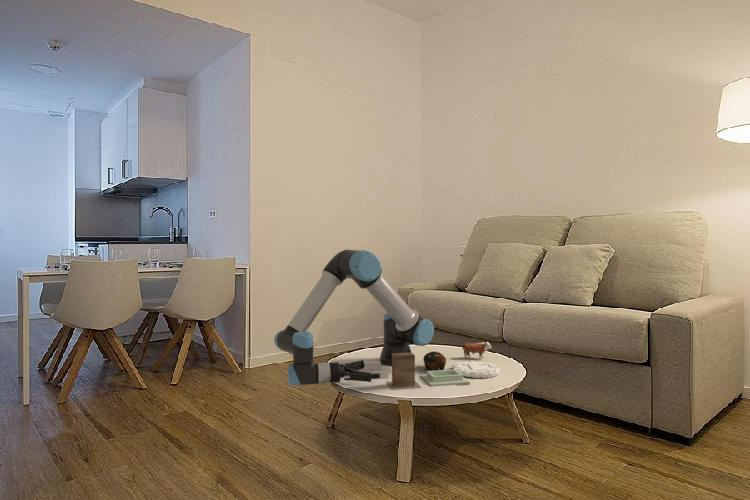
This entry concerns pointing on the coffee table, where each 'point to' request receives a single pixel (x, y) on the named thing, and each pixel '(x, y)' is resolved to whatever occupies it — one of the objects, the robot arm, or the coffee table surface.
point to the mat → (403, 387)
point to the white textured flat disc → (477, 369)
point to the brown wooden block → (403, 369)
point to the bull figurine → (475, 349)
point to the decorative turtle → (434, 361)
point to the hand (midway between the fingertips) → (384, 369)
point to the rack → (444, 378)
